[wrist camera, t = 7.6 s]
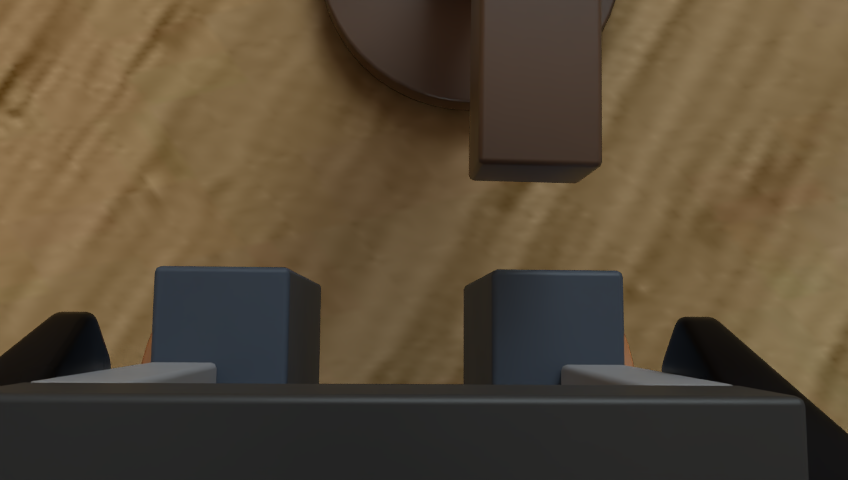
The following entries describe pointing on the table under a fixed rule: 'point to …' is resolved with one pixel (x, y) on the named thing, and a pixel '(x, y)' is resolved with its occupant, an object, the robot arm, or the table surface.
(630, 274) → the table surface
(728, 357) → the robot arm
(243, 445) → the dark blocky forked piece
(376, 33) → the headphone stand
